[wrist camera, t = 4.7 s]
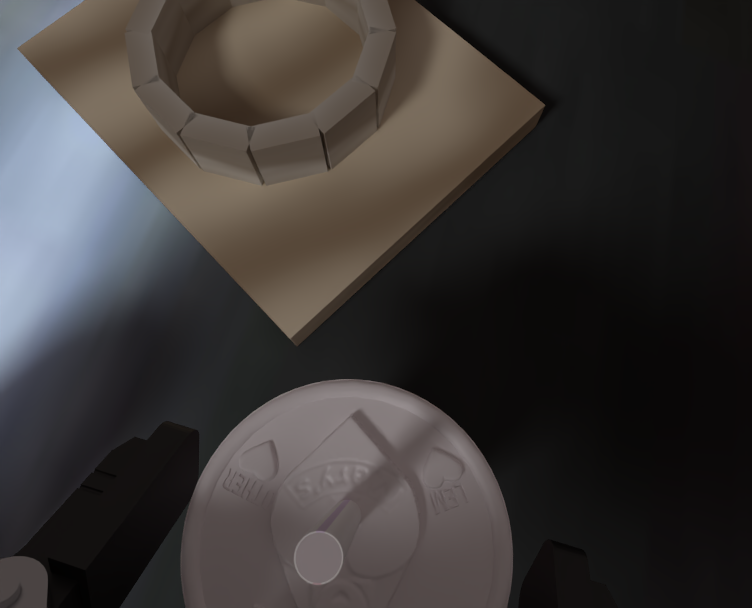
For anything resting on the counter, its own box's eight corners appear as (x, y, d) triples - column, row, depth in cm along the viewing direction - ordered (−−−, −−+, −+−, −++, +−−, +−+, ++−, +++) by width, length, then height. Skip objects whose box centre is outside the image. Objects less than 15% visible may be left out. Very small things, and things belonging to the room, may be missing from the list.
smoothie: (455, 415, 20) (593, 336, 7) (454, 604, 18) (640, 1028, 5) (285, 408, 20) (82, 318, 7) (269, 595, 19) (-47, 975, 5)
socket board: (38, 72, 25) (-27, 1, 21) (267, -93, 27) (247, -184, 23) (297, 346, 21) (276, 322, 17) (535, 126, 23) (564, 61, 19)
